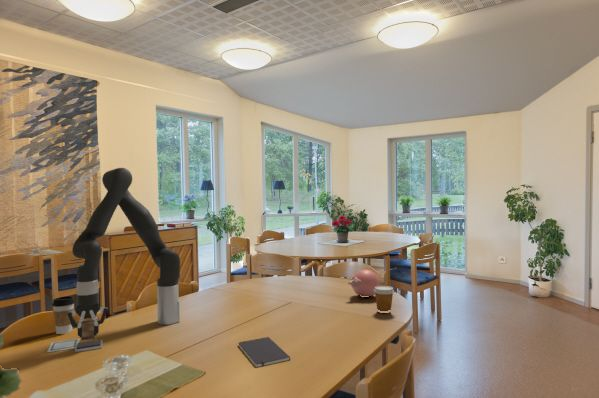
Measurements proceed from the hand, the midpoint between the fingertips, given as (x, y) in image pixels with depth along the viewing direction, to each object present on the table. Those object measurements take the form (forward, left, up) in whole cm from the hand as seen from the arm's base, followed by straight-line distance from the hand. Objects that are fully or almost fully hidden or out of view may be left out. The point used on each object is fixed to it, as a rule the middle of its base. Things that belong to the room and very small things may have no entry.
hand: (88, 335), depth 148 cm
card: (+9, -6, -4) cm, 11 cm away
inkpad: (0, 0, -4) cm, 4 cm away
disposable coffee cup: (-128, +16, -5) cm, 129 cm away
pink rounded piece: (-133, -10, -5) cm, 134 cm away
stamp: (0, 0, -1) cm, 1 cm away
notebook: (-59, +34, -5) cm, 69 cm away
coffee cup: (+11, -23, -5) cm, 26 cm away
